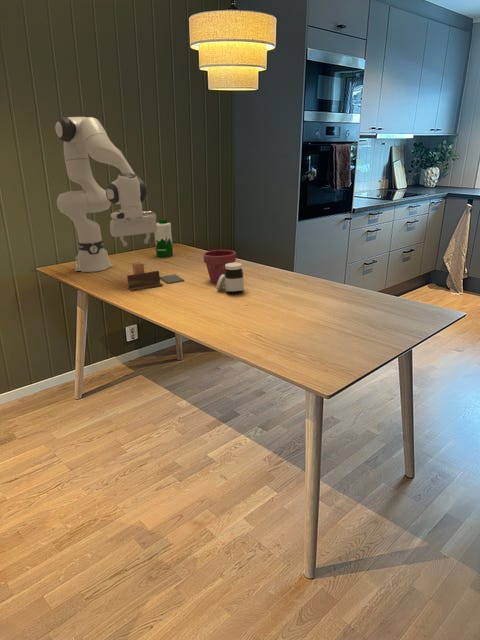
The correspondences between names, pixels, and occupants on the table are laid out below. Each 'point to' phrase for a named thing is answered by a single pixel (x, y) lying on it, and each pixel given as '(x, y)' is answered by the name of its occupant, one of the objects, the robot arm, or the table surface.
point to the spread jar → (232, 279)
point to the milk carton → (163, 239)
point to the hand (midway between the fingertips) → (136, 244)
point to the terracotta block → (138, 268)
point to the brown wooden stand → (144, 281)
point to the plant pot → (218, 262)
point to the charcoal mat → (171, 279)
